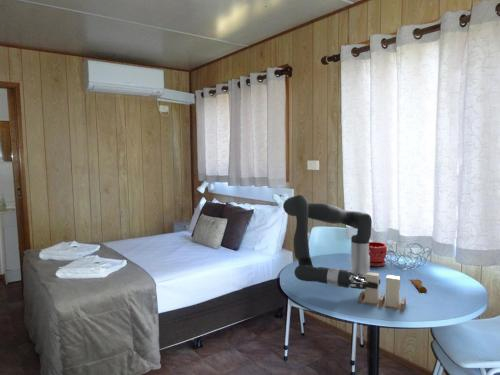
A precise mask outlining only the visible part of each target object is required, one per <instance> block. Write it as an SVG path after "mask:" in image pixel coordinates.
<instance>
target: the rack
mask: <svg viewBox="0 0 500 375" xmlns="http://www.w3.org/2000/svg"><path fill="white" fill-rule="evenodd" d="M385 299H386V292H385V293H384V292H383V293H381V294H380V296H379V301H378V304H373V303H368V302H365V289H361V292H360V294H359V295H358V303H359V304H362V305H363V304H364V305H369V306H372V307H374V306H375V307H378V308H379V307H380V308H384V309H390V310H395V311H401V312H404V311H405V308H406V305H407V304H406V303H407V297H406V296H402V298H401V300H400V304H399V307H398V308H395V307H389V306H385Z"/></svg>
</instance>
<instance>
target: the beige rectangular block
mask: <svg viewBox="0 0 500 375" xmlns="http://www.w3.org/2000/svg"><path fill="white" fill-rule="evenodd" d="M379 279H380V273H378V272H371V271H370V272H367V273H366V274H365V281H367V282H372V283H377V284H378V288H377V289H374V288H366V289H364V290H365V302H368V303H373V304H378V301H379V299H380V284H379Z"/></svg>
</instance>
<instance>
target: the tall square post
mask: <svg viewBox="0 0 500 375" xmlns="http://www.w3.org/2000/svg"><path fill="white" fill-rule="evenodd" d="M400 291H401V276H399V275H391V274H387V275H386V278H385V306H389V307H395V308H398V307H399V304H400V303H401V300H400V297H401V292H400Z"/></svg>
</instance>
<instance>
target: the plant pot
mask: <svg viewBox="0 0 500 375" xmlns="http://www.w3.org/2000/svg"><path fill="white" fill-rule="evenodd" d="M387 246H388V245H387V244H386V243H383V242H378V241H369V256H370V267H371V266H372V267H380V266H381V267H382V266H384V265H385V264H386V256H387Z"/></svg>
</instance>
